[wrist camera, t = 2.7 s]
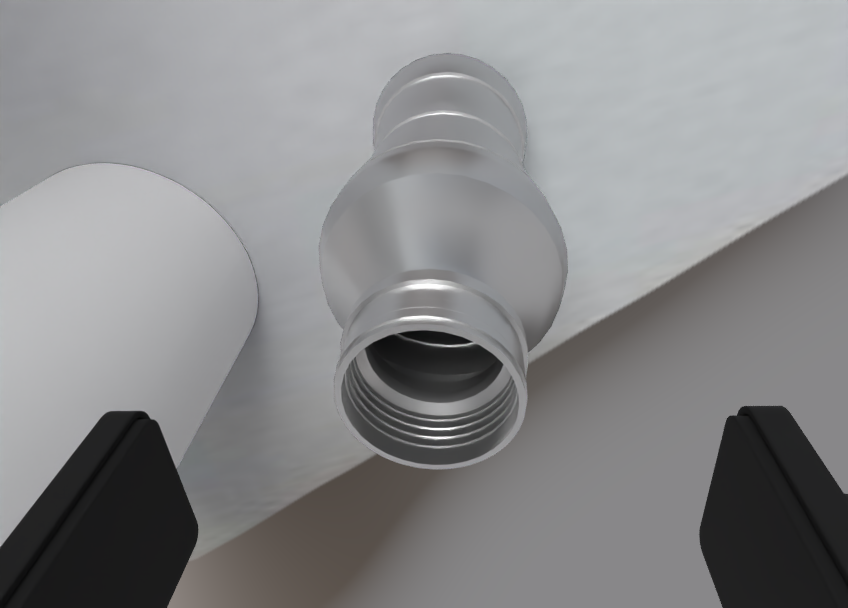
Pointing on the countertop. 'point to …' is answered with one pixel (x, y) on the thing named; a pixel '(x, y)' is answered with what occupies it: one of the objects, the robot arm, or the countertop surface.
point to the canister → (110, 316)
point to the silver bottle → (441, 269)
